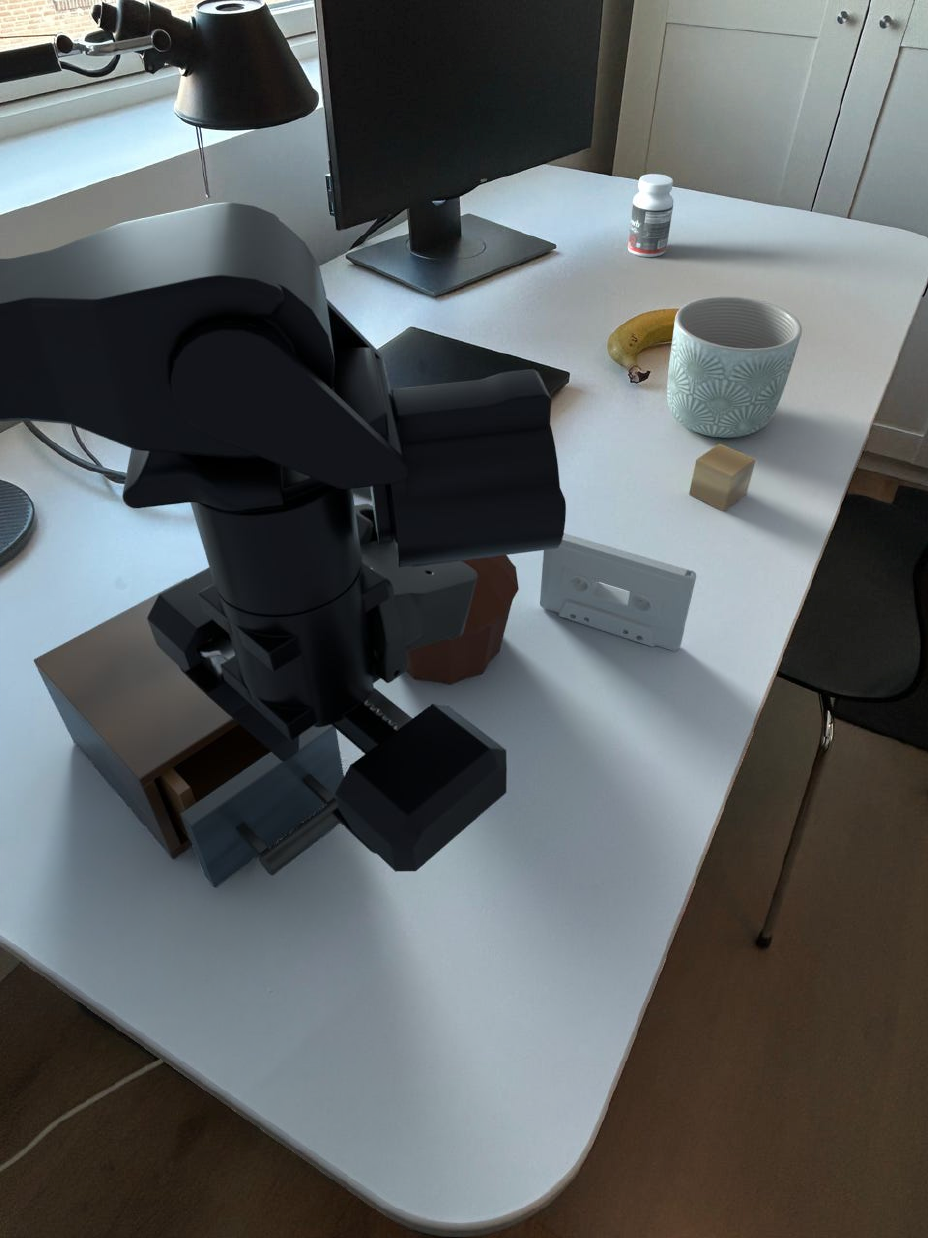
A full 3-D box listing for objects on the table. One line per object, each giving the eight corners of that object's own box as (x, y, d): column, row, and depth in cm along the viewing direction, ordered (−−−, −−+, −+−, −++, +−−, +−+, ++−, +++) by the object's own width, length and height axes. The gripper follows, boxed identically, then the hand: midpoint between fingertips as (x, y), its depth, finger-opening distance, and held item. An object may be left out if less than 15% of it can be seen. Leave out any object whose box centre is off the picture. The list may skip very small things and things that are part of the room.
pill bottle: (623, 243, 132) (632, 172, 125) (661, 242, 132) (671, 171, 125) (631, 258, 128) (640, 186, 121) (670, 257, 128) (681, 184, 121)
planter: (635, 413, 96) (649, 317, 89) (709, 378, 102) (728, 285, 94) (725, 462, 89) (749, 363, 82) (799, 422, 95) (828, 325, 87)
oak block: (723, 511, 83) (732, 476, 80) (688, 494, 85) (695, 459, 82) (746, 494, 85) (756, 459, 82) (711, 477, 87) (719, 442, 84)
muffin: (452, 578, 76) (451, 482, 69) (545, 644, 70) (553, 547, 63) (342, 643, 71) (329, 546, 64) (433, 722, 65) (428, 624, 58)
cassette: (536, 610, 73) (541, 537, 68) (545, 597, 74) (550, 524, 69) (676, 656, 69) (693, 583, 64) (683, 641, 71) (700, 568, 65)
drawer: (384, 824, 57) (377, 760, 53) (251, 931, 52) (230, 870, 47) (240, 691, 66) (223, 626, 61) (113, 771, 60) (83, 707, 56)
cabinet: (317, 757, 62) (300, 675, 56) (173, 860, 56) (138, 779, 50) (210, 660, 69) (186, 577, 63) (73, 742, 63) (32, 659, 58)
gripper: (608, 577, 33) (580, 813, 44) (307, 404, 43) (344, 631, 54) (386, 745, 28) (416, 968, 38) (98, 502, 37) (187, 734, 48)
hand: (337, 800), depth 45 cm, fingers open, 8 cm apart
